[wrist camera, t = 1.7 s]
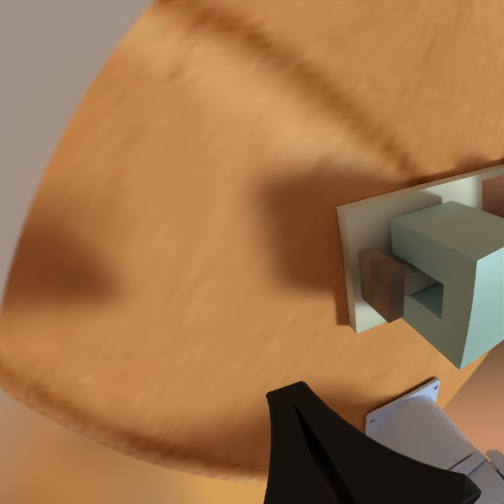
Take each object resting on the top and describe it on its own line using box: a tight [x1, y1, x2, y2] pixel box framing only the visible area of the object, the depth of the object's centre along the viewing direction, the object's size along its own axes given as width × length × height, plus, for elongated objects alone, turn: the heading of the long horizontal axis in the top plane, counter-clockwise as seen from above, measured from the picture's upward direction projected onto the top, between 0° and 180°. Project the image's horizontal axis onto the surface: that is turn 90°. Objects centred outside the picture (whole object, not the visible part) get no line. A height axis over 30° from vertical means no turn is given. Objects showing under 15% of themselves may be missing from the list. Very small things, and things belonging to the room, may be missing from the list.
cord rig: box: [336, 164, 504, 334], centre depth 17 cm, size 8×18×6 cm, turn 103°
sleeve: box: [390, 200, 504, 370], centre depth 15 cm, size 6×5×6 cm
